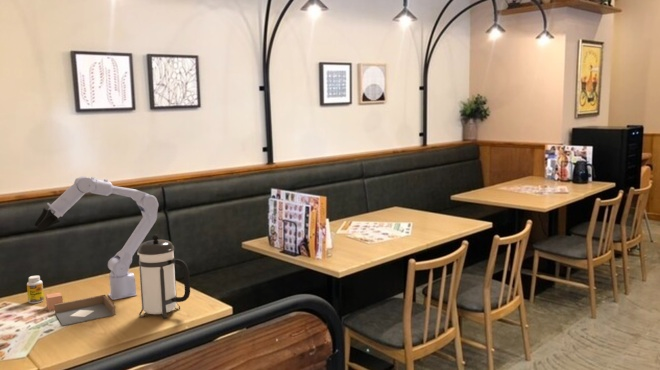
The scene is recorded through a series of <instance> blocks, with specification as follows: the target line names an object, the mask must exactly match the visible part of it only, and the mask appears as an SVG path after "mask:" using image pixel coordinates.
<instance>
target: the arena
mask: <svg viewBox="0 0 660 370" xmlns="http://www.w3.org/2000/svg"><path fill="white" fill-rule="evenodd" d="M54 306H55V310H54V314H55V315H57V316H56V317H57V319H58V321H59V322H60V324H61V326H62V327H66V326H70V325H71V326H72V325H75V324H81V323H84V322H89V321H94V320H97V319H98V320H99V319H103V318H107V317H111V316H116V315H117V314H116V305H115V304H114V302H112V301H111V300H110V298H109V297H108V296H107V295H106V294H101V295H95V296H91V297H86V298H81V299H76V300H70V301H66V302H64V301H63V303H59V304H54Z"/></svg>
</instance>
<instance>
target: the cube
mask: <svg viewBox="0 0 660 370" xmlns="http://www.w3.org/2000/svg"><path fill="white" fill-rule="evenodd" d="M45 300H46V301H45V303H46V308H47V310H48V311H49V310H50V311H55V306H54V304H59V303H64V301H63V295H62V293H61V292H53V293H47V294H45Z"/></svg>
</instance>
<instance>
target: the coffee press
mask: <svg viewBox="0 0 660 370" xmlns="http://www.w3.org/2000/svg"><path fill="white" fill-rule="evenodd" d="M151 238H152V239H151V240H147V241H143V242H142V243H141V244H140V246H139V247H138V249H137V256H139V258H138V264H139V280H140V281H139V282H140V295H141V297H140V298H141V310H140V312H139V313H138V315H139V317H140V318H144V317H145V315H147V314H148V315H162V317H161V318H162V320H166V319H168V313H169V312H172V311H173V310H174V309H175V310H177V308H176V307H177V306H178V308H179V310H180V309H181V306H180V305H179V304H178V303H182V302H185V301H186V300H188V299H189V297H190V295H191V282H190V281H191V278H190V270H189V267H188V265H187V262H186V261H184V260H182V259H179V258H175V254H174V252H175V246H174V245H173V243H172V242H171V241H169V240H166V239H159V238H160V236H159V235H158V234H156V233H155V234H153V235H152V237H151ZM176 265H179V266H180V267H181V268H182V271H183V280H184V281H183V284H184V295H182V296H177V285H176V268H175V267H176ZM143 311H144V313H143ZM142 313H143V314H142Z"/></svg>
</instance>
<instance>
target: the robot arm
mask: <svg viewBox="0 0 660 370" xmlns="http://www.w3.org/2000/svg"><path fill="white" fill-rule="evenodd" d="M88 193H90V194H94V195H99V196H106V197H108V196H110V195H111V194H113V195H118V196H123V197H128V198H131V199H132V200H133V201H135V203H136V205H137V207H138V208H139V210H140V212H141V215H142V218H141V220H140V221H139V223H138V224H137V226H136V227H135V229H134V230H133V232H132V233H131V235H130V236H129V238H128V239H127V240H126V242H125V243H124V245H123V247H122V248H121V249H120V250H119V251H118V252H116V253H115V255H114V256H112V257H111V258H110V259H109V260H108V261H107V269H109V270H110V273H109V288H110V293H108V294H107V295H108V297H109V299H111V300H112V301H115V300H120V299H124V298H129V297H130V298H131V297H134V296H137V295H138V294H137V289H136V288H137V287H136V286H137V285H136V278H135V274H134V272H129V271H130V266H131V264H132V263H133V257H134V255H135V253H136V252H137V251H138V249H139V247H140V245H141V244H142V243H143V242H144V240H145V238H146V236H147V235H148V234H149V232H150V231H151V229H152V228H153V226H154V224H155V223H156V221H157V219H158V209H159V205H160V204H159V202H158V199H157V197H156V196H155V195H152V194H149V193H147V192H144V191H141V190H138V189H134V188H129V187H122V186H116V185H113V183H112V182H111V181H109V180H108V179H107V178H106V179H97V178H95V177H94V176H92V177H87V176H79V177H77V178H75V180H74V183H73V184H72V185H70V186H69V187H68V188H67V189H66V190H65V191H63V193H62V194H61V195H60V196H58V198H56V199H55V200H54V201H53V202H52V203H51V204H50V203H49V202H47V203H46V204H47V206H48V209H47V208H46V207H43V208H42V211H41V214H39V217H38V218H37V219H36V221H35V222H34V224H33V225H34V226H35V227H36V228H37V230H39V231H40V232H43V231H45V230H46V229H48V228H49V227H51V226H53V225H55V224H58V223H60V222H61V220H60V219H59V218H60V217H62V218H63V216H64V215H65V213H67V212H68V210H70V209H71V208H72V207H73V206H75V204H76V203H78V201H79V200H80V199H81V198H82V197H83V196H84V195H85V194H88Z"/></svg>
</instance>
